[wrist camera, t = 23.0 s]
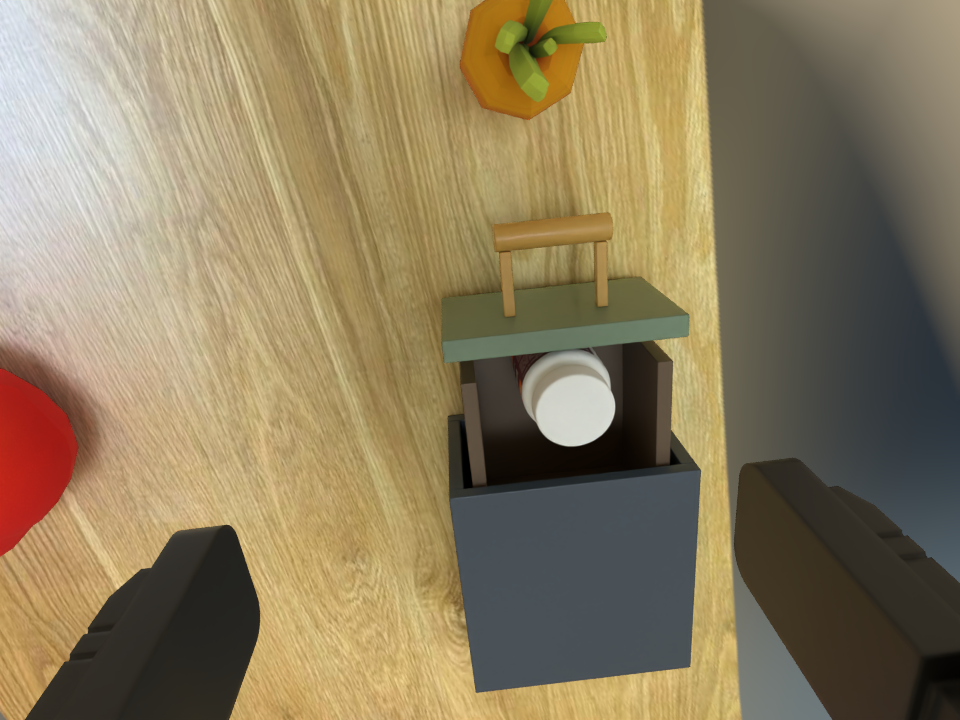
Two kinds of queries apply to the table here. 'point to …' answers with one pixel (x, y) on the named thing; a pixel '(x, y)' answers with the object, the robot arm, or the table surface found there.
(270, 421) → the table surface
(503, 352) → the drawer
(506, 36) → the carrot
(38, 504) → the tomato
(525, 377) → the pill bottle
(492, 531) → the cabinet
